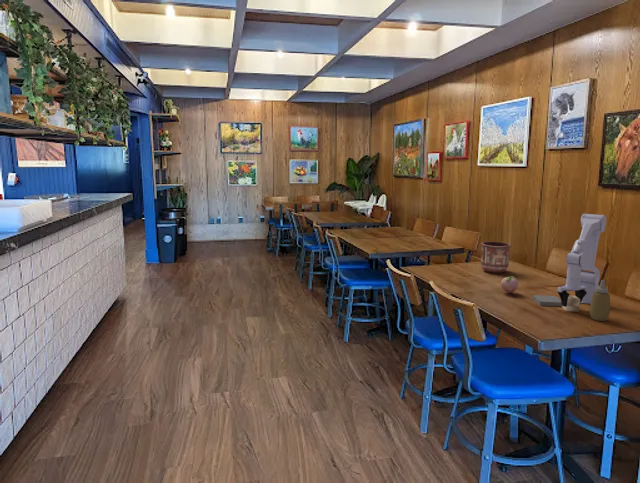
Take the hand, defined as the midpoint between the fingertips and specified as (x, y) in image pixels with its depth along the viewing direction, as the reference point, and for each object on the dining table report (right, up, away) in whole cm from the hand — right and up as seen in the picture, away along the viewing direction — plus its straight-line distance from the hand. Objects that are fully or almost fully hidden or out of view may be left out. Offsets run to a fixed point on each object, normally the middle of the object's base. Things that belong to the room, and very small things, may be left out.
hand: (570, 305), depth 219 cm
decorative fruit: (-19, +3, +27) cm, 33 cm away
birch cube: (0, -2, 0) cm, 2 cm away
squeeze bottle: (+5, -5, -13) cm, 15 cm away
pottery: (-8, +11, +75) cm, 76 cm away
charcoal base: (-6, -1, +11) cm, 13 cm away
